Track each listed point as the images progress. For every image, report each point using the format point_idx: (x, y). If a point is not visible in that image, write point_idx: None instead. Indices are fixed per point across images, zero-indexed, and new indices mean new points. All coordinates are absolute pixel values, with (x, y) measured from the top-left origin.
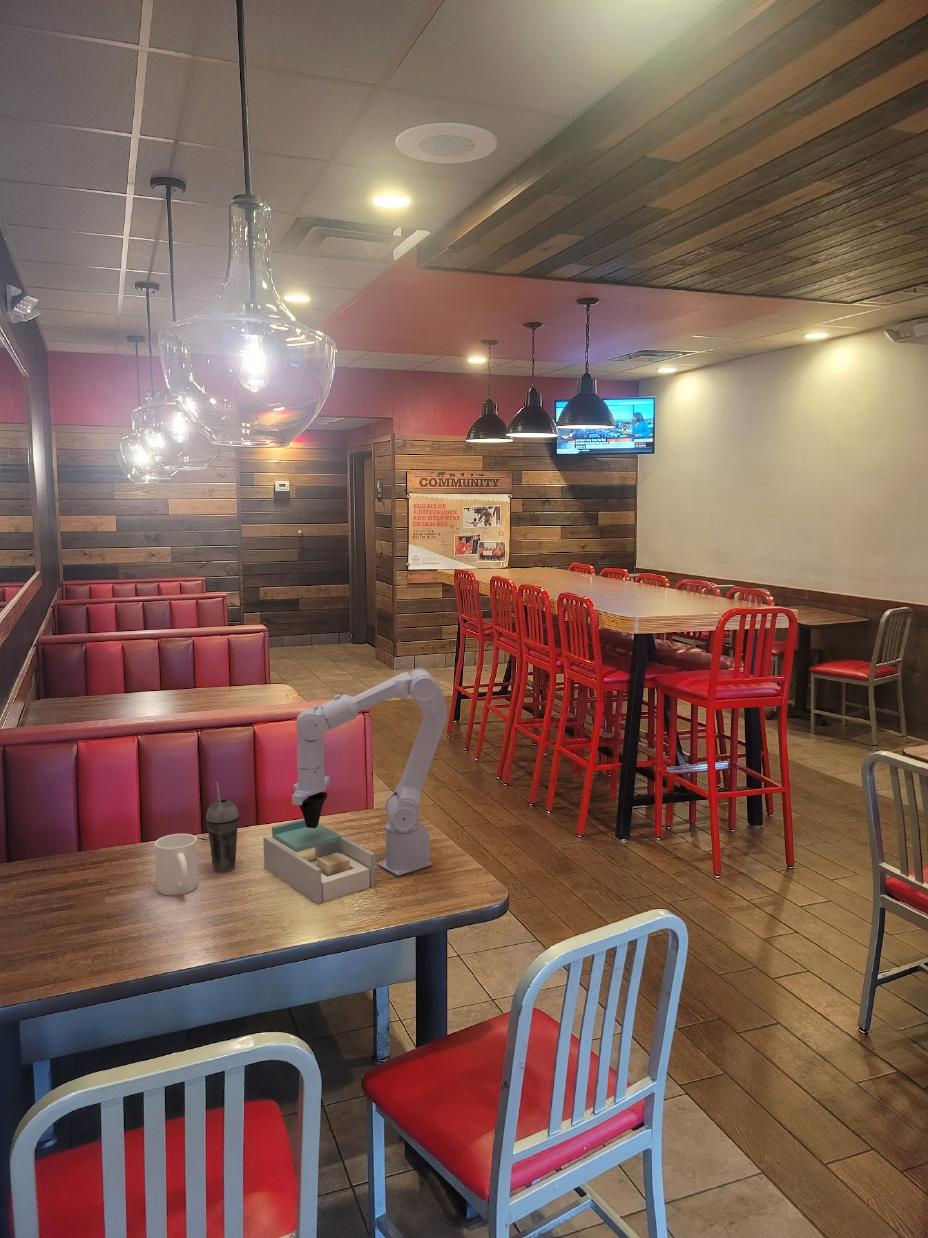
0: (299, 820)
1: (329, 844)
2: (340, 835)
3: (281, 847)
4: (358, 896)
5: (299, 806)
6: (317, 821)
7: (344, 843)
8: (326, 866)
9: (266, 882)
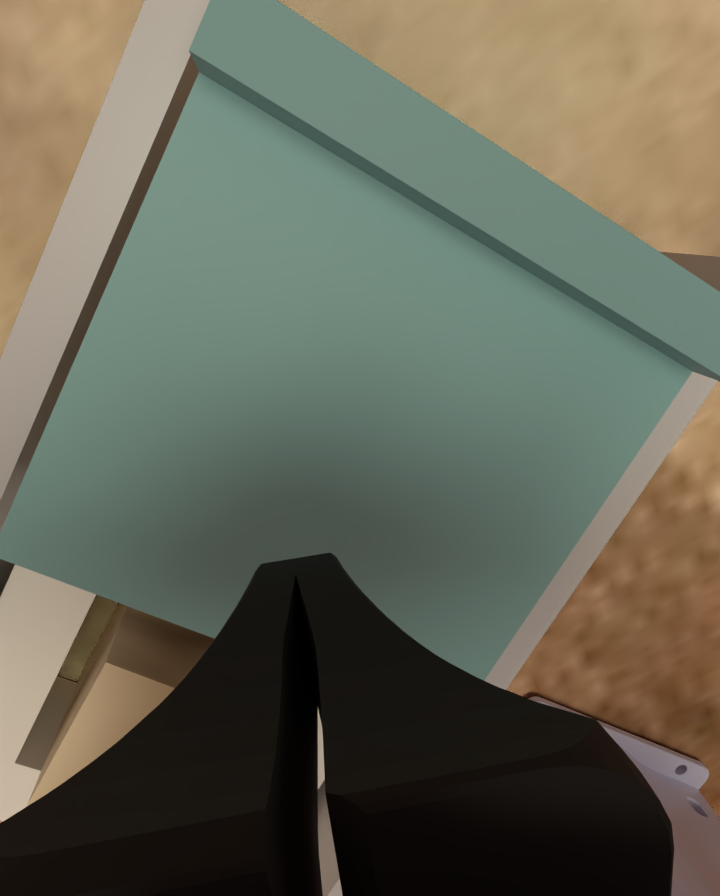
0: (577, 229)
1: None
2: None
3: (33, 318)
4: None
5: (96, 764)
6: (315, 726)
7: None
8: (43, 771)
9: (4, 203)
